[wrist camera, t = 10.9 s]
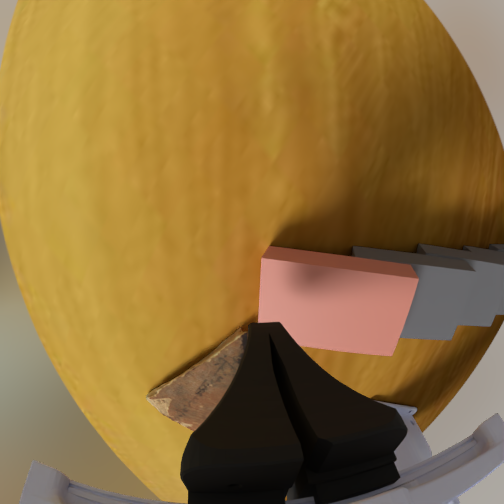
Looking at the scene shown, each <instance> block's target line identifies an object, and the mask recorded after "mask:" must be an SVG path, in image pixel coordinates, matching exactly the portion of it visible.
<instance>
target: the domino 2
mask: <svg viewBox="0 0 504 504" xmlns="http://www.w3.org/2000/svg"><path fill="white" fill-rule="evenodd" d="M416 254H423V255H430V256H438V257H445V258H452V259H460V260H466V261H467V262H468V264H469V265H470V266H471V267H472V268H473V269H474V270H475V271H476V275H475V278H474V281H473V284H472V287H471V290H470V293H469V296H468V299H467V302H466V305H465V307H464V310H463V313H462V315H461V318H460V320H459V323H458V325H468V326H491V324H492V322H493V320H494V317H495V315H496V313H497V310H498V308H499V305H500V303H501V300H502V298H503V295H504V259H503V258H502V257H497V256H491V255H486V254H480V253H475V252H469V251H463V250H457V249H451V248H445V247H439V246H433V245H426V244H420V243H418V248H417V253H416Z"/></svg>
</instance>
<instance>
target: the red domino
mask: <svg viewBox="0 0 504 504" xmlns="http://www.w3.org/2000/svg"><path fill="white" fill-rule="evenodd" d="M418 281H419V278H418V276H417V275H416V273H415V271H414V270H413V268H412V266H411V265H409V264H402V263H395V262H388V261H380V260H373V259H366V258H358V257H351V256H343V255H336V254H328V253H321V252H313V251H305V250H298V249H290V248H282V247H274V246H269V247H268V249H267V250H266V252H265V253H264V255H263V256H262V259H261V278H260V297H259V315H258V323H263V322H280V323H281V324H282V325H283V326H284V328H285V329H286V330H287V332H288V333H289V334H290V335H291V337H292V338H293V339H294V340H295V341H296V343H297V344H298V345H300V346H306V347H313V348H320V349H328V350H335V351H344V352H352V353H362V354H372V355H383V356H392V355H393V352H394V350H395V348H396V345H397V343H398V340H399V337H400V335H401V332H402V329H403V327H404V324H405V321H406V318H407V316H408V313H409V310H410V307H411V304H412V300H413V297H414V294H415V291H416V288H417V284H418Z"/></svg>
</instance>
